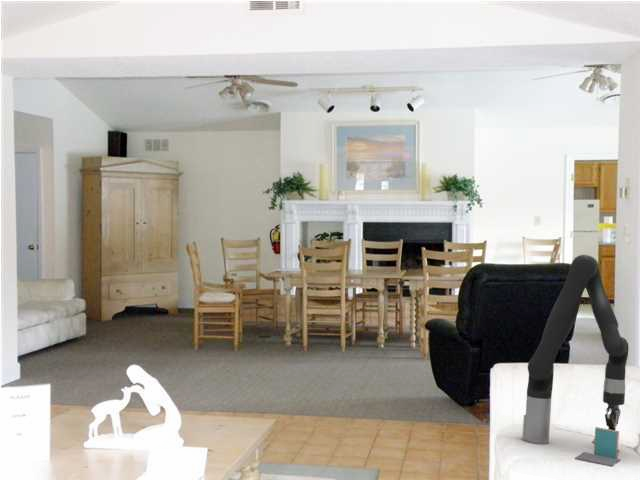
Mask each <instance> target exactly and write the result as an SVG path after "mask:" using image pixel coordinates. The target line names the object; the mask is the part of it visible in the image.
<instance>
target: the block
mask: <svg viewBox="0 0 640 480" xmlns="http://www.w3.org/2000/svg"><path fill="white" fill-rule="evenodd" d="M594 429H595V430H594V438H595V443H593V444H594V447H593V448H594V449H593V454H596V455H601V456H606V457H611V458H616V459H618V456H619V455H618V454H619V452H618V450H619V439H620V438H619V436H620V431H619V430H610V429H608V428H603V427H595V428H594Z"/></svg>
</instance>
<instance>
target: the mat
mask: <svg viewBox="0 0 640 480" xmlns="http://www.w3.org/2000/svg"><path fill="white" fill-rule="evenodd" d="M577 459H578V460H579V461H582V462H583V461H584V462H588V463H593V464H597V465H602V466H607V467H610V468H611V467H614V466H615V465H616V464H617V463H619V462H620V461H621V459H619V458H617V459H616V458H611V457H606V456H601V455H596V454H594V453H590V452H585V451H584V452H582V453H580V454H579V455H577V456H575V457H574V460H577ZM578 460H577V461H578ZM615 463H616V464H615ZM614 464H615V465H614Z"/></svg>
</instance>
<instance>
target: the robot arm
mask: <svg viewBox="0 0 640 480" xmlns="http://www.w3.org/2000/svg"><path fill="white" fill-rule="evenodd" d="M585 290H586V292H587V295H588V298H589V302H590V305H591V306H590V307H591V310H592V314H593V316H594V319H595V322H596V324H597V327H598V329H599V331H600V332H599V333H600V336H601V337H600V338H601V341H602V345H603V347H604V349H605V351H606V353H607V354H608V360H607V362H606V365H605V370H604V381H603V392H602V393H603V394H602V402H603V403H605V404H607V407H606V409H605V411H606V413H605V414H604V418H605V424H606V427H608V428H607V429H610V430H615V431H617V429H616V428H617V425H618V424H619V420H620V415H621V412H622V411H621V409H620V406H623V405H625V397H626V395H625V394H626V367H627V361H628V356H629V351H630V350H629V347H630V346H629V343H628V340H627V339H626V338H624V337H623V336H621V335H620V332H619V323H618V319H617V317H616V314H615V312H614V309H613V308H612V305H611V303H610V299H609V298H608V296H607V293H606V290H605V287H604V284H603V280H602V278H601V272H600V268H599V262H598V261H597V260H596V258H595V257H593V256H591V255H587V254H580V255H578V256H576V257H574V259H573V260H572V262H571V264H570V266H569V271H568V274H567V276H566V280H565V283H564V286H563V287H562V290H561V291H560V293H559V294H558V297H557V298H556V301H555V303H554V304H553V308H552V309H551V312H550V314H549V316H548V319H547V321H546V325H545V327H544V330H543V334H542V336H541V340H540V342H539V344H538V347H537V348H536V350H535V352H534V353H533V355H532V357H531V358H530V359H529V361H528V363H527V372H528V382H527V387H526V401H525V403H526V404H525V414H524V415H523V423H522V440H523V441H526V442H529V443H533V444H540V445H541V444H549V443H550V428H551V425H550V424H551V413H552V412H551V411H552V394H553V384H554V371H555V370H554V368H555V366H554V364H555V361H556V358H557V355H558V353H559V351H560V349H561V347H562V345H563V344H564V342H565V341H566V339H567V337H568V336H569V334H570V333H571V330H572V329H573V326H574V323H575V321H576V319H577V316H578V313H579V310H580V305H581V302H582V296H583V293H584V292H585Z"/></svg>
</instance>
